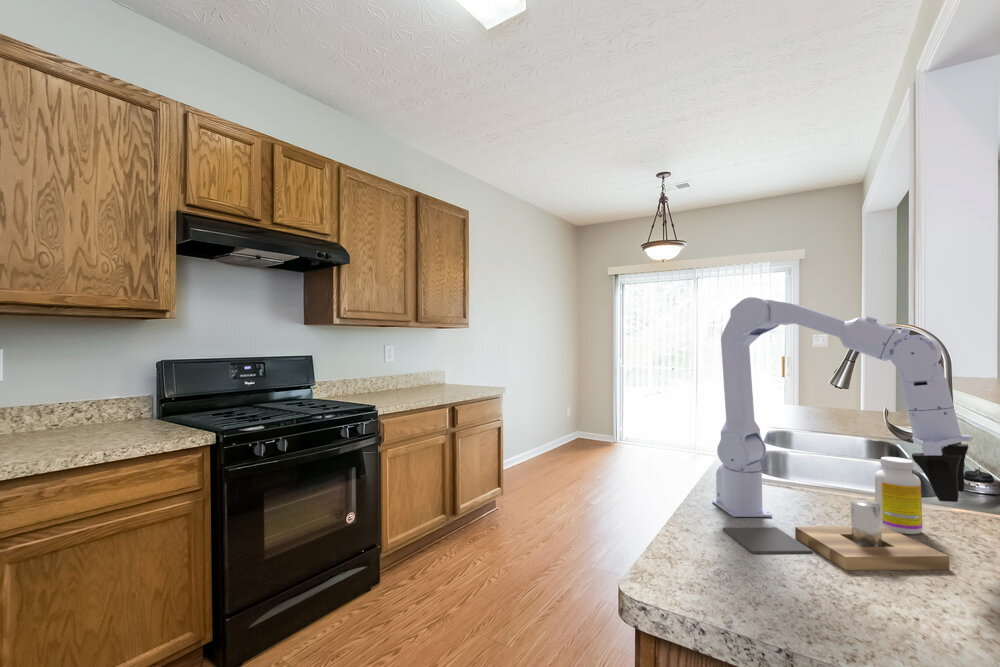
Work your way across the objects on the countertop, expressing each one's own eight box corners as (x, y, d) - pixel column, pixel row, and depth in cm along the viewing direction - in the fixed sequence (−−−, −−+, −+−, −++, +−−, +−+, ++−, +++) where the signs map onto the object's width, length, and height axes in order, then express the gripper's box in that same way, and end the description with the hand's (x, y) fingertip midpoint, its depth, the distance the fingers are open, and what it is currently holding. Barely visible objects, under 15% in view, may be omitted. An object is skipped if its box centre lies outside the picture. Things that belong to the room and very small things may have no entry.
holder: (795, 538, 84) (795, 526, 84) (884, 537, 84) (884, 526, 84) (845, 570, 72) (845, 556, 72) (949, 569, 72) (949, 555, 72)
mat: (722, 529, 88) (722, 527, 88) (776, 529, 88) (776, 527, 88) (752, 553, 78) (752, 551, 78) (812, 553, 78) (812, 550, 78)
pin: (845, 547, 80) (844, 500, 80) (869, 547, 80) (867, 499, 80) (864, 558, 76) (862, 508, 76) (888, 558, 76) (887, 507, 76)
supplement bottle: (931, 537, 84) (929, 464, 84) (889, 534, 85) (887, 462, 86) (907, 523, 91) (905, 456, 91) (868, 520, 92) (866, 454, 92)
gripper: (958, 411, 68) (983, 508, 66) (968, 403, 78) (991, 487, 76) (896, 414, 74) (918, 504, 72) (913, 406, 83) (933, 485, 81)
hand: (951, 495), depth 74 cm, fingers open, 7 cm apart
